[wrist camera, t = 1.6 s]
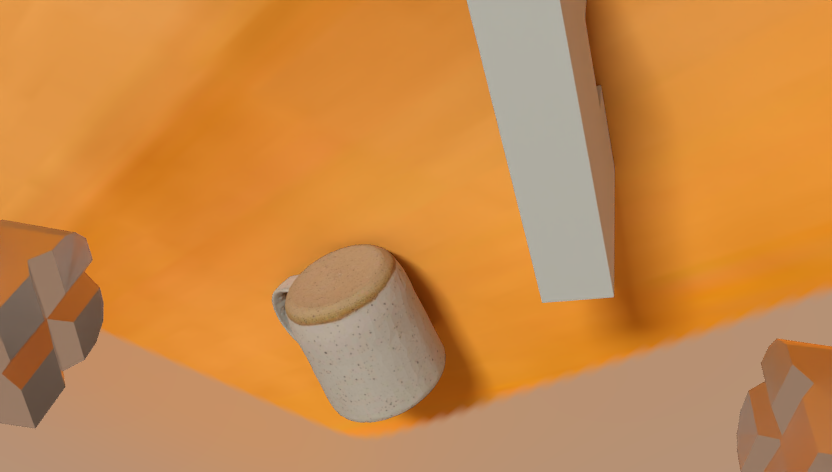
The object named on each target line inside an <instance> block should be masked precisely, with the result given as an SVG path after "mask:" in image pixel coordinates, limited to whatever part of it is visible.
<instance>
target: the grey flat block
mask: <svg viewBox="0 0 832 472" xmlns="http://www.w3.org/2000/svg"><path fill="white" fill-rule="evenodd" d="M586 1H587V0H467V3H468V7H469V11H470V15H471V19H472V23H473V27H474V31H475V35H476V39H477V43H478V47H479V51H480V55H481V59H482V63H483V67H484V71H485V75H486V79H487V83H488V87H489V91H490V95H491V99H492V103H493V107H494V111H495V115H496V119H497V123H498V127H499V131H500V135H501V139H502V143H503V147H504V151H505V155H506V159H507V163H508V167H509V171H510V175H511V179H512V183H513V187H514V191H515V195H516V199H517V203H518V207H519V211H520V215H521V219H522V223H523V227H524V231H525V235H526V239H527V243H528V247H529V251H530V255H531V259H532V263H533V267H534V271H535V275H536V279H537V283H538V287H539V291H540V295H541V299H542V303H546V302H558V301H571V300H584V299H597V298H610V297H614V227H615V167H614V161H613V155H612V149H611V142H610V136H609V130H608V124H607V118H606V112H605V106H604V100H603V93H602V87H601V85H598V86H596V81H595V75H594V69H593V63H592V57H591V51H590V45H589V39H588V33H587V27H586V21H585V13H586Z"/></svg>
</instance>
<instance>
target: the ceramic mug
mask: <svg viewBox="0 0 832 472" xmlns="http://www.w3.org/2000/svg"><path fill="white" fill-rule="evenodd" d="M272 303H273V307H274V310H275V312H276V315H277V317H278V319H279V320H280V322H281V324H282V325H283V326H284V328H285V329H286V330H287V332H288V333H289V334H290V335H291V336H292V337H293V338H294V339H295V340H296V341H297V342H298V343H299V345H300V347H301V348H302V350H303V352H304V353H305V355H306V357H307V359H308V361H309V363H310V365H311V366H312V369H313V371H314V373H315V375H316V377H317V379H318V380H319V382H320V384H321V386H322V388H323V390H324V392H325V394H326V396H327V398H328V400H329V402H330V403H331V405H332V406H333V408H334V409H335V410H336V411H337V412H338V413H339V414H340V415H341V416H343V417H345V418H346V419H349V420H351V421H356V422H377V421H381V420H386V419H389V418H391V417H394V416H396V415H399V414H401V413H403V412H405V411H407V410H409V409H410V408H412V407H414V406H415V405H416V404H418V403H419V402H420V401H421V400H422V399H424V398H425V397H426V396H427V395H428V394H429V393H430V392H431V391H432V389H433V388H434V387H435V386H436V384H437V383H438V381H439V379H440V377H441V375H442V373H443V370H444V367H445V357H446V355H445V350H444V346H443V344H442V342H441V340H440V339H439V337H438V335H437V333H436V331H435V329H434V327H433V325H432V323H431V321H430V319H429V317H428V315H427V313H426V311H425V310H424V308H423V306H422V304H421V302H420V300H419V298H418V297H417V295H416V293H415V291H414V289H413V286H412V284H411V282H410V280H409V278H408V276H407V274H406V272H405V271H404V269H403V268H402V266H401V265H400V264H399V262H398V261H397V260H396V259H395V257H394V256H393V255H392V254H391V253H390V252H388V251H387V250H386V249H384V248H382V247H378V246H375V245H353V246H348V247H345V248H342V249H339V250H336V251H334V252H331V253H329V254H327V255H325V256H323V257H321V258H320V259H318V260H317V261H315V262H314V263H312V264H311V265H309V266H308V267H307V268H306V269H305V270H304V271H303V272H302V273H301V274H300V275H295V276H291V277H289V278H288V279H286V280H285V281H284V282H283V283H282V284H281V285H279V287H278V288H277V289H276V290H275V291H274V293H273V296H272Z"/></svg>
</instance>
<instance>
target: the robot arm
mask: <svg viewBox="0 0 832 472" xmlns="http://www.w3.org/2000/svg"><path fill="white" fill-rule="evenodd" d="M92 260H93V259H92V256H91V253H90V250H89V247H88V243H87V240H86V238H84V237H83V236H81V235H79V234H77V233H75V232H70V231H64V230H58V229H52V228H47V227H41V226H35V225H30V224H24V223H18V222H13V221H7V220H0V423H3V424H9V425H16V426H22V427H29V428H36V427H37V425H38V424H39V423H40V421H41V420H42V419H43V417H44V415H45V414H46V413H47V411H48V410H49V409H50V407H51V406H52V405H53V403H54V402H55V400H56V399H57V398H58V396H59V395H60V393H61V392H62V391H63V389H64V388H65V381H64V374H63V371H64V370H66V369H68V368H70V367H72V366H74V365H75V364H78V363H79V362H81V361H83V360H85V358H86V357H87V355H88V354H89V352H90V351H91V349H92V348H93V346H94V345H95V343H96V341H97V338H98V335H99V332H100V329H101V326H102V323H103V299H102V295H101V291H100V287H99V286H98V285H97V284H96V283H95V282H94V281H93V280H92V279H91V278H90V277H89V276H88V275H87V274H86V273H85V270H86V269H87V267H88V266H89V264H90V263H91V261H92ZM761 365H762V370H763V374H764V378H765V382H763V383H761V384H759V385H758V386H756V387H754V388H752V389H751V390H749V391H748V394H747V396H746V399H745V401H744V404H743V406H742V409H741V412H740V417H739V424H738V430H737V452H738V459H739V464H740V470H741V472H832V347H831V346H824V345H817V344H811V343H804V342H797V341H790V340H783V339H776V340H775V341H774V342H773V343H772V344H771V345H770V346H769V347H768V349H767V351H766V354H765V356H764V358H763V360H762V362H761Z"/></svg>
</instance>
